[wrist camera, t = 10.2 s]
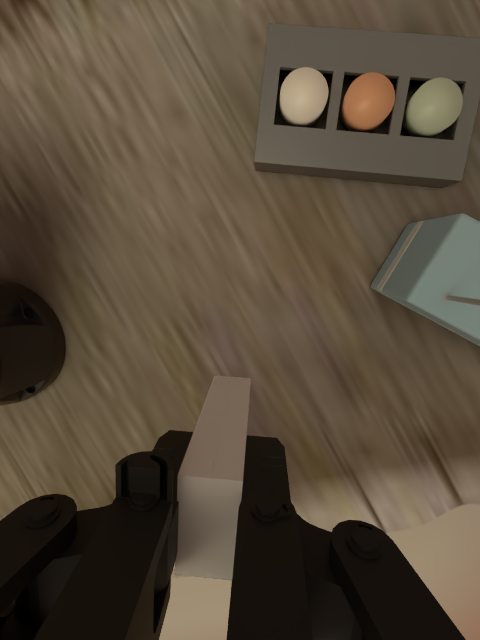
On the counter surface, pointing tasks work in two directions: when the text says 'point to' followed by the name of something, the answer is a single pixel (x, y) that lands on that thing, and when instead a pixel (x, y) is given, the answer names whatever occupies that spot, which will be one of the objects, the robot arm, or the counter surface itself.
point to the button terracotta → (367, 102)
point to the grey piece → (392, 150)
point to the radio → (437, 273)
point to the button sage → (432, 108)
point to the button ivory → (303, 97)
